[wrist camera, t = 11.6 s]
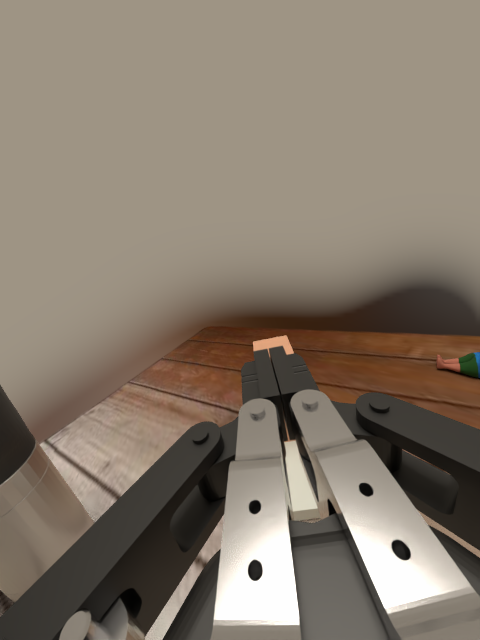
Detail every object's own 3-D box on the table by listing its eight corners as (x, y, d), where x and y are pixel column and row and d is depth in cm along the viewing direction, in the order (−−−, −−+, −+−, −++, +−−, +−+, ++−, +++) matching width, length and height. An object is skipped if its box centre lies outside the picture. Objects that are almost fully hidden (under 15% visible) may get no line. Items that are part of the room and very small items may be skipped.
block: (273, 443, 39) (254, 361, 33) (269, 416, 44) (252, 341, 38) (306, 438, 38) (294, 353, 32) (298, 411, 44) (286, 335, 38)
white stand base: (252, 526, 30) (245, 507, 29) (247, 409, 50) (243, 394, 48) (362, 512, 29) (362, 491, 28) (313, 398, 49) (311, 382, 47)
